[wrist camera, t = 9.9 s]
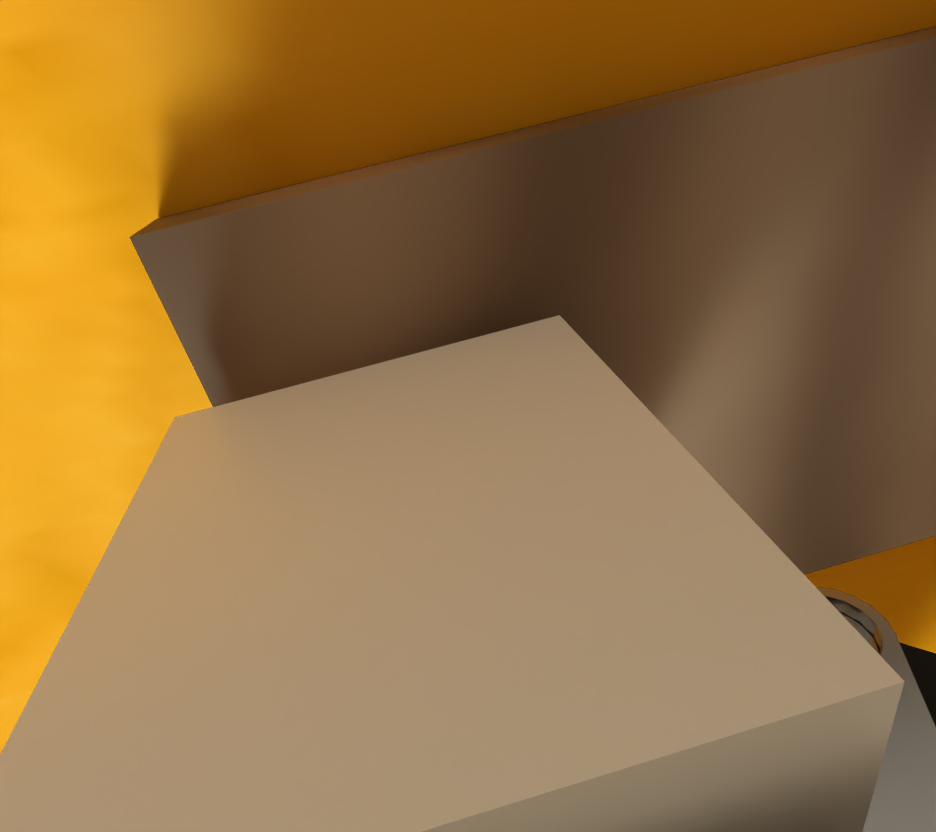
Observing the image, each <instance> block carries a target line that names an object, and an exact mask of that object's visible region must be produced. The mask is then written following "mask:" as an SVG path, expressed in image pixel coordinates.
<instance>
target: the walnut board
mask: <svg viewBox="0 0 936 832" xmlns="http://www.w3.org/2000/svg"><path fill="white" fill-rule="evenodd" d="M130 239H131V241H132V243H133V245H134V247H135V249H136V251H137V253H138V255H139V257H140V259H141V261H142V263H143V265H144V267H145V270H146V272H147V274H148V276H149V278H150V280H151V282H152V284H153V286H154V288H155V290H156V292H157V294H158V296H159V298H160V300H161V302H162V304H163V306H164V308H165V310H166V312H167V314H168V316H169V318H170V320H171V322H172V324H173V326H174V328H175V330H176V333H177V335H178V337H179V339H180V341H181V343H182V345H183V347H184V349H185V351H186V353H187V355H188V357H189V359H190V361H191V363H192V365H193V367H194V369H195V371H196V373H197V375H198V377H199V379H200V381H201V383H202V385H203V387H204V389H205V391H206V394H207V396H208V398H209V400H210V402H211V404H212V406H213V407H216V406H220V405H223V404H227V403H231V402H235V401H238V400H242V399H246V398H250V397H253V396H257V395H261V394H265V393H268V392H272V391H276V390H280V389H283V388H287V387H291V386H295V385H299V384H302V383H306V382H310V381H314V380H317V379H321V378H325V377H329V376H332V375H336V374H340V373H344V372H347V371H351V370H355V369H359V368H363V367H366V366H370V365H374V364H378V363H381V362H385V361H389V360H393V359H396V358H400V357H404V356H408V355H411V354H415V353H419V352H423V351H426V350H430V349H434V348H438V347H442V346H445V345H449V344H453V343H457V342H460V341H464V340H468V339H472V338H475V337H479V336H483V335H487V334H490V333H494V332H498V331H502V330H506V329H509V328H513V327H517V326H521V325H524V324H528V323H532V322H536V321H539V320H543V319H547V318H551V317H554V316H558V315H560V316H561V317H562V318H563V319H564V320H565V321H566V322H567V324H568V325H569V326H570V327H571V328H572V329H573V330H574V331H575V332H576V333H577V334H578V335H579V336H580V337H581V338H582V339H583V341H584V342H585V343H586V344H587V345H588V346H589V347H590V348H591V349H592V350H593V351H594V352H595V353H596V354H597V355H598V356H599V358H600V359H601V360H602V361H603V362H604V363H605V364H606V365H607V366H608V367H609V368H610V369H611V370H612V371H613V372H614V373H615V375H616V376H617V377H618V378H619V379H620V380H621V381H622V382H623V383H624V384H625V385H626V386H627V387H628V388H629V389H630V390H631V392H632V393H633V394H634V395H635V396H636V397H637V398H638V399H639V400H640V401H641V402H642V403H643V404H644V405H645V406H646V407H647V408H648V410H649V411H650V412H651V413H652V414H653V415H654V416H655V417H656V418H657V419H658V420H659V421H660V422H661V423H662V424H663V425H664V427H665V428H666V429H667V430H668V431H669V432H670V433H671V434H672V435H673V436H674V437H675V438H676V439H677V440H678V441H679V442H680V444H681V445H682V446H683V447H684V448H685V449H686V450H687V451H688V452H689V453H690V454H691V455H692V456H693V457H694V458H695V459H696V461H697V462H698V463H699V464H700V465H701V466H702V467H703V468H704V469H705V470H706V471H707V472H708V473H709V474H710V475H711V476H712V477H713V479H714V480H715V481H716V482H717V483H718V484H719V485H720V486H721V487H722V488H723V489H724V490H725V491H726V492H727V493H728V494H729V496H730V497H731V498H732V499H733V500H734V501H735V502H736V503H737V504H738V505H739V506H740V507H741V508H742V509H743V510H744V511H745V513H746V514H747V515H748V516H749V517H750V518H751V519H752V520H753V521H754V522H755V523H756V524H757V525H758V526H759V527H760V528H761V530H762V531H763V532H764V533H765V534H766V535H767V536H768V537H769V538H770V539H771V540H772V541H773V542H774V543H775V544H776V545H777V546H778V548H779V549H780V550H781V551H782V552H783V553H784V554H785V555H786V556H787V557H788V558H789V559H790V560H791V561H792V562H793V563H794V565H795V566H796V567H797V568H798V569H799V570H800V571H801V572H802V573H803V574H808V573H811V572H814V571H818V570H821V569H825V568H828V567H831V566H835V565H838V564H841V563H845V562H848V561H852V560H855V559H858V558H862V557H865V556H869V555H872V554H875V553H879V552H882V551H885V550H889V549H892V548H896V547H899V546H902V545H906V544H909V543H912V542H916V541H919V540H923V539H926V538H929V537H933V536H936V27H932V28H928V29H924V30H919V31H915V32H911V33H907V34H903V35H899V36H895V37H891V38H887V39H883V40H879V41H875V42H871V43H867V44H863V45H859V46H855V47H851V48H847V49H843V50H839V51H834V52H830V53H826V54H822V55H818V56H814V57H810V58H806V59H802V60H798V61H794V62H790V63H786V64H782V65H778V66H774V67H770V68H766V69H762V70H758V71H754V72H749V73H745V74H741V75H737V76H733V77H729V78H725V79H721V80H717V81H713V82H709V83H705V84H701V85H697V86H693V87H689V88H685V89H681V90H677V91H673V92H669V93H664V94H660V95H656V96H652V97H648V98H644V99H640V100H636V101H632V102H628V103H624V104H620V105H616V106H612V107H608V108H604V109H600V110H596V111H592V112H588V113H584V114H579V115H575V116H571V117H567V118H563V119H559V120H555V121H551V122H547V123H543V124H539V125H535V126H531V127H527V128H523V129H519V130H515V131H511V132H507V133H503V134H499V135H494V136H490V137H486V138H482V139H478V140H474V141H470V142H466V143H462V144H458V145H454V146H450V147H446V148H442V149H438V150H434V151H430V152H426V153H422V154H418V155H414V156H409V157H405V158H401V159H397V160H393V161H389V162H385V163H381V164H377V165H373V166H369V167H365V168H361V169H357V170H353V171H349V172H345V173H341V174H337V175H333V176H329V177H324V178H320V179H316V180H312V181H308V182H304V183H300V184H296V185H292V186H288V187H284V188H280V189H276V190H272V191H268V192H264V193H260V194H256V195H252V196H248V197H244V198H239V199H235V200H231V201H227V202H223V203H219V204H215V205H211V206H207V207H203V208H199V209H195V210H191V211H187V212H183V213H179V214H175V215H171V216H167V217H163V218H159V219H156V220H155V221H153V222H152V223H150V224H149V225H147V226H146V227H144V228H143V229H141V230H140V231H138V232H137V233H135V234H134V235H132V236H131V237H130Z"/></svg>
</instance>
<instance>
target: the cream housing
mask: <svg viewBox="0 0 936 832" xmlns="http://www.w3.org/2000/svg"><path fill="white" fill-rule="evenodd" d="M904 682H905V681H904V680H903V679H902V678H901V677H900V676H899V675H898V674H897V673H896V672H895V671H894V670H893V669H892V668H891V666H890V665H889V664H888V663H887V662H886V661H885V660H884V659H883V658H882V657H881V656H880V655H879V654H878V653H877V652H876V651H875V649H874V648H873V647H872V646H871V645H870V644H869V643H868V642H867V641H866V640H865V639H864V638H863V637H862V636H861V635H860V634H859V632H858V631H857V630H856V629H855V628H854V627H853V626H852V625H851V624H850V623H849V622H848V621H847V620H846V619H845V618H844V617H843V615H842V614H841V613H840V612H839V611H838V610H837V609H836V608H835V607H834V606H833V605H832V604H831V603H830V602H829V601H828V600H827V599H826V597H825V596H824V595H823V594H822V593H821V592H820V591H819V590H818V589H817V588H816V587H815V586H814V585H813V584H812V583H811V582H810V580H809V579H808V578H807V577H806V576H805V575H804V574H803V573H802V572H801V571H800V570H799V569H798V568H797V567H796V566H795V565H794V563H793V562H792V561H791V560H790V559H789V558H788V557H787V556H786V555H785V554H784V553H783V552H782V551H781V550H780V549H779V548H778V546H777V545H776V544H775V543H774V542H773V541H772V540H771V539H770V538H769V537H768V536H767V535H766V534H765V533H764V532H763V531H762V530H761V528H760V527H759V526H758V525H757V524H756V523H755V522H754V521H753V520H752V519H751V518H750V517H749V516H748V515H747V514H746V513H745V511H744V510H743V509H742V508H741V507H740V506H739V505H738V504H737V503H736V502H735V501H734V500H733V499H732V498H731V497H730V496H729V494H728V493H727V492H726V491H725V490H724V489H723V488H722V487H721V486H720V485H719V484H718V483H717V482H716V481H715V480H714V479H713V477H712V476H711V475H710V474H709V473H708V472H707V471H706V470H705V469H704V468H703V467H702V466H701V465H700V464H699V463H698V462H697V461H696V459H695V458H694V457H693V456H692V455H691V454H690V453H689V452H688V451H687V450H686V449H685V448H684V447H683V446H682V445H681V444H680V442H679V441H678V440H677V439H676V438H675V437H674V436H673V435H672V434H671V433H670V432H669V431H668V430H667V429H666V428H665V427H664V425H663V424H662V423H661V422H660V421H659V420H658V419H657V418H656V417H655V416H654V415H653V414H652V413H651V412H650V411H649V410H648V408H647V407H646V406H645V405H644V404H643V403H642V402H641V401H640V400H639V399H638V398H637V397H636V396H635V395H634V394H633V393H632V392H631V390H630V389H629V388H628V387H627V386H626V385H625V384H624V383H623V382H622V381H621V380H620V379H619V378H618V377H617V376H616V375H615V373H614V372H613V371H612V370H611V369H610V368H609V367H608V366H607V365H606V364H605V363H604V362H603V361H602V360H601V359H600V358H599V356H598V355H597V354H596V353H595V352H594V351H593V350H592V349H591V348H590V347H589V346H588V345H587V344H586V343H585V342H584V341H583V339H582V338H581V337H580V336H579V335H578V334H577V333H576V332H575V331H574V330H573V329H572V328H571V327H570V326H569V325H568V324H567V322H566V321H565V320H564V319H563V318H562V317H561V316H560V315H558V316H554V317H551V318H547V319H543V320H539V321H536V322H532V323H528V324H524V325H521V326H517V327H513V328H509V329H506V330H502V331H498V332H494V333H490V334H487V335H483V336H479V337H475V338H472V339H468V340H464V341H460V342H457V343H453V344H449V345H445V346H442V347H438V348H434V349H430V350H426V351H423V352H419V353H415V354H411V355H408V356H404V357H400V358H396V359H393V360H389V361H385V362H381V363H378V364H374V365H370V366H366V367H363V368H359V369H355V370H351V371H347V372H344V373H340V374H336V375H332V376H329V377H325V378H321V379H317V380H314V381H310V382H306V383H302V384H299V385H295V386H291V387H287V388H283V389H280V390H276V391H272V392H268V393H265V394H261V395H257V396H253V397H250V398H246V399H242V400H238V401H235V402H231V403H227V404H223V405H220V406H216V407H212V408H208V409H204V410H201V411H197V412H193V413H189V414H186V415H182V416H178V417H175V418H174V420H173V422H172V424H171V426H170V428H169V430H168V432H167V434H166V435H165V437H164V439H163V441H162V443H161V445H160V447H159V449H158V451H157V453H156V455H155V457H154V459H153V461H152V463H151V464H150V466H149V468H148V470H147V472H146V474H145V476H144V478H143V480H142V482H141V484H140V486H139V488H138V490H137V492H136V493H135V495H134V497H133V499H132V501H131V503H130V505H129V507H128V509H127V511H126V513H125V515H124V517H123V519H122V521H121V522H120V524H119V526H118V528H117V530H116V532H115V534H114V536H113V538H112V540H111V542H110V544H109V546H108V548H107V550H106V551H105V553H104V555H103V557H102V559H101V561H100V563H99V565H98V567H97V569H96V571H95V573H94V575H93V577H92V578H91V580H90V582H89V584H88V586H87V588H86V590H85V592H84V594H83V596H82V598H81V600H80V602H79V604H78V606H77V607H76V609H75V611H74V613H73V615H72V617H71V619H70V621H69V623H68V625H67V627H66V629H65V631H64V633H63V635H62V636H61V638H60V640H59V642H58V644H57V646H56V648H55V650H54V652H53V654H52V656H51V658H50V660H49V662H48V664H47V665H46V667H45V669H44V671H43V673H42V675H41V677H40V679H39V681H38V683H37V685H36V687H35V689H34V691H33V693H32V694H31V696H30V698H29V700H28V702H27V704H26V706H25V708H24V710H23V712H22V714H21V716H20V718H19V720H18V722H17V723H16V725H15V727H14V729H13V731H12V733H11V735H10V737H9V739H8V741H7V743H6V745H5V747H4V749H3V750H2V752H1V754H0V832H863V828H864V825H865V821H866V818H867V814H868V811H869V807H870V803H871V800H872V796H873V793H874V789H875V786H876V782H877V778H878V775H879V771H880V768H881V764H882V761H883V757H884V753H885V750H886V746H887V743H888V739H889V736H890V732H891V728H892V725H893V721H894V718H895V714H896V711H897V707H898V703H899V700H900V696H901V693H902V689H903V686H904Z"/></svg>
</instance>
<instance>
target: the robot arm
mask: <svg viewBox="0 0 936 832" xmlns="http://www.w3.org/2000/svg"><path fill="white" fill-rule="evenodd" d="M816 588H817V589H818V590H819V591H820V592H821V593H822V594H823V595H824V596H825V597H826V599H827V600H828V601H829V602H830V603H831V604H832V605H833V606H834V607H835V608H836V609H837V610H838V611H839V612H840V613H841V614H842V615H843V617H844V618H845V619H846V620H847V621H848V622H849V623H850V624H851V625H852V626H853V627H854V628H855V629H856V630H857V631H858V632H859V634H860V635H861V636H862V637H863V638H864V639H865V640H866V641H867V642H868V643H869V644H870V645H871V646H872V647H873V648H874V649H875V651H876V652H877V653H878V654H879V655H880V656H881V657H882V658H883V659H884V660H885V661H886V662H887V663H888V664H889V665H890V666H891V668H892V669H893V670H894V671H895V672H896V673H897V674H898V675H899V676H900V677H901V678H902V679H903V680H904V681H905V682H904V686H903V689H902V693H901V696H900V700H899V703H898V707H897V711H896V714H895V718H894V721H893V725H892V728H891V732H890V736H889V739H888V743H887V746H886V750H885V753H884V757H883V761H882V764H881V768H880V771H879V775H878V778H877V782H876V786H875V789H874V793H873V796H872V800H871V803H870V807H869V811H868V814H867V818H866V821H865V825H864V828H863V832H936V654H935V653H932V652H929V651H925V650H922V649H919V648H916V647H912V646H909V645H906V644H902V643H899V641H898V639H897V636H896V634H895V632H894V631H893V629H892V628H891V626H890V625H889V623H888V621H887V620H886V619H885V618H884V617H883V616H882V615H881V614H880V613H879V612H878V611H876V610H875V609H874V608H873V607H872V606H871V605H869V604H867V603H865V602H864V601H862V600H860V599H858V598H857V597H855V596H853V595H850V594H847V593H844V592H841V591H838V590H835V589H829V588H822V587H816Z"/></svg>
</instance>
